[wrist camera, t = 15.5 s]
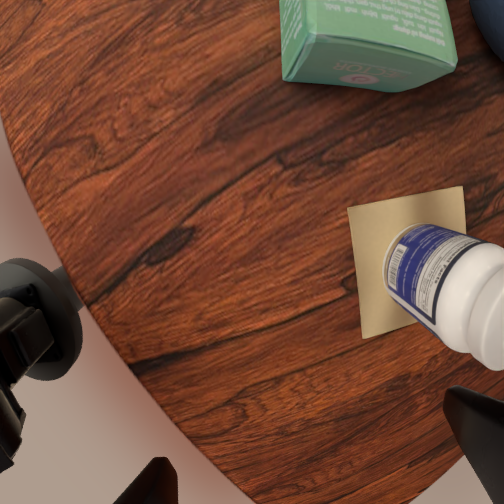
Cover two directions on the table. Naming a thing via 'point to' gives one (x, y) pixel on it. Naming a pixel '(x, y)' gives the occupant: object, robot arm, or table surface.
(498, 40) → the decorative stone
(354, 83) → the box
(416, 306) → the pill bottle
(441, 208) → the sticky note
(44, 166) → the table surface
